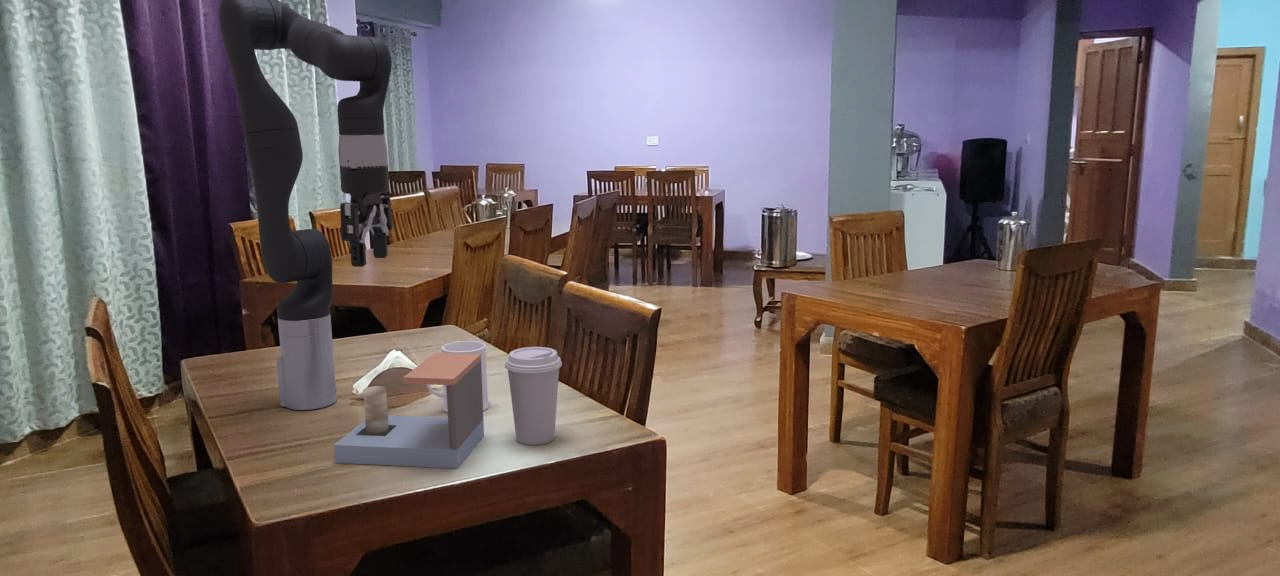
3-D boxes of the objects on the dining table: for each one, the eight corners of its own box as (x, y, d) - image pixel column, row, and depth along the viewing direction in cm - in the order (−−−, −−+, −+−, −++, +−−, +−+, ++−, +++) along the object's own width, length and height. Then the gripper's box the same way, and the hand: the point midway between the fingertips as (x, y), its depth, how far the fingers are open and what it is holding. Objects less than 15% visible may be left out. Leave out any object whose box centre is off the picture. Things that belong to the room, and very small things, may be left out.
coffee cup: (515, 452, 138) (512, 363, 135) (500, 432, 146) (498, 349, 143) (571, 443, 141) (569, 357, 138) (553, 424, 150) (551, 343, 147)
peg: (363, 450, 138) (359, 392, 136) (372, 442, 142) (368, 385, 140) (384, 451, 138) (380, 393, 136) (393, 443, 141) (389, 386, 139)
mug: (431, 420, 152) (428, 356, 150) (421, 406, 159) (417, 345, 157) (494, 410, 157) (492, 348, 155) (481, 397, 165) (479, 338, 162)
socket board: (335, 462, 133) (328, 374, 130) (372, 431, 147) (367, 350, 144) (457, 468, 131) (453, 379, 128) (484, 435, 145) (480, 354, 142)
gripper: (360, 161, 144) (366, 255, 147) (320, 165, 130) (328, 268, 133) (403, 161, 143) (408, 255, 146) (367, 165, 129) (373, 269, 132)
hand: (370, 261), depth 140 cm, fingers open, 8 cm apart
